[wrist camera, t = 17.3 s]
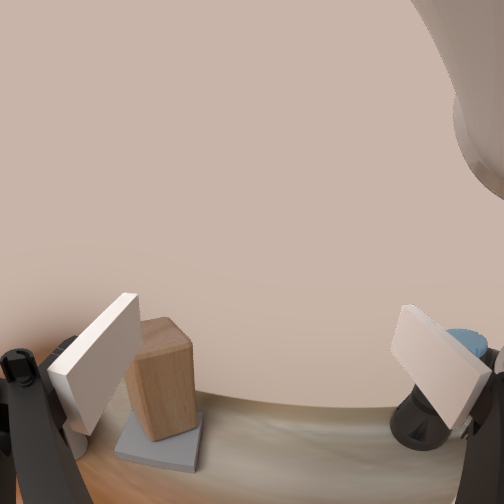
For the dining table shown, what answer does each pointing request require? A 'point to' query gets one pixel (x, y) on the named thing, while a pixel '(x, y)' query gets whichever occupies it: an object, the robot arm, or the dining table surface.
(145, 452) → the stand
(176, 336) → the block
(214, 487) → the dining table surface
